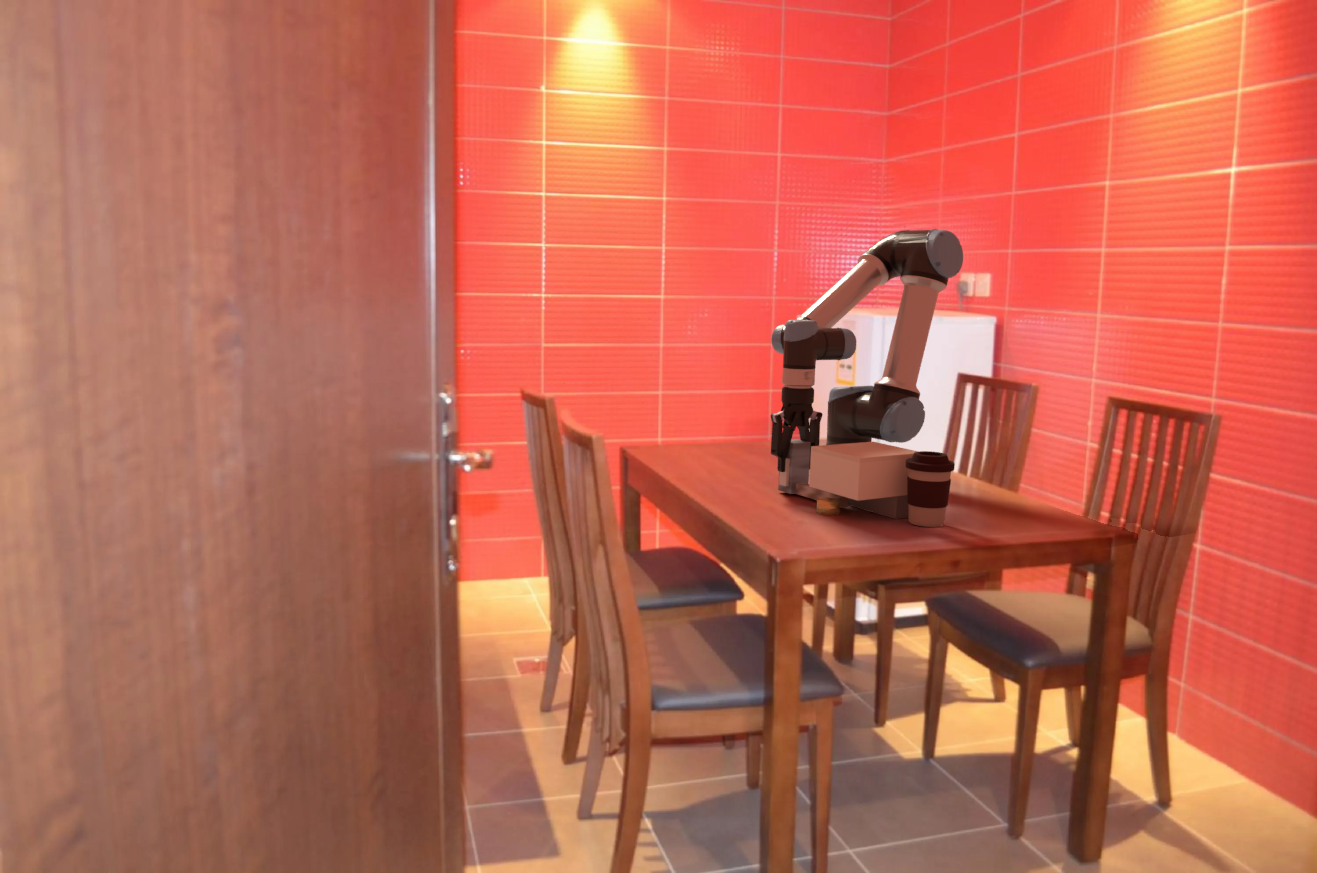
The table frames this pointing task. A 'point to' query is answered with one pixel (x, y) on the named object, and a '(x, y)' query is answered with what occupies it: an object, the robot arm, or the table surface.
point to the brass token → (828, 506)
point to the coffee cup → (928, 487)
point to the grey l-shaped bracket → (804, 474)
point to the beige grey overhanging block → (864, 475)
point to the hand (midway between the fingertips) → (793, 484)
